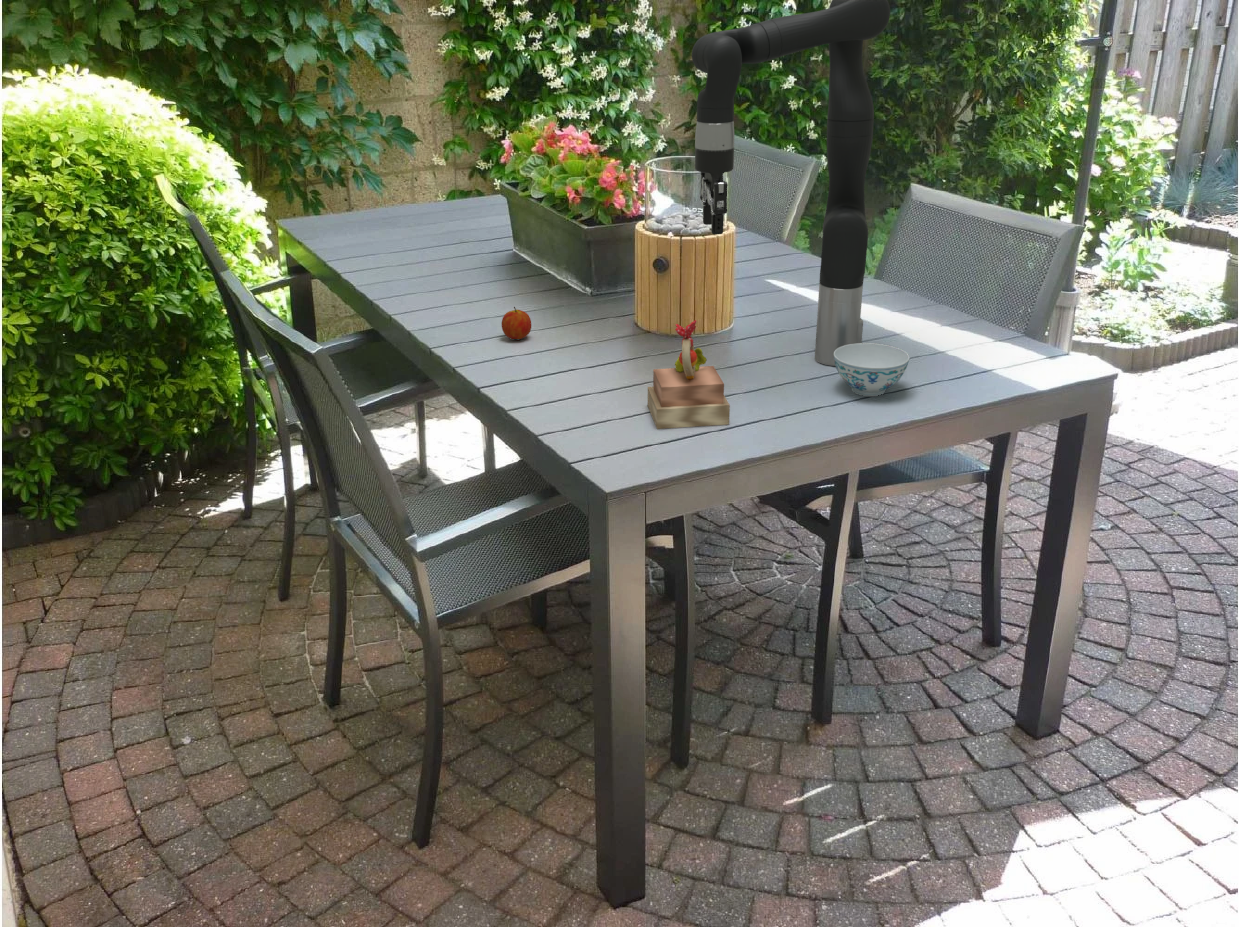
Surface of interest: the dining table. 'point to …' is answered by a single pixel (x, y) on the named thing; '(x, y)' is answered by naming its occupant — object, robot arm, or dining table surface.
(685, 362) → the bird rattle
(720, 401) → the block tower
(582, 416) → the dining table surface
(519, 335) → the fruit
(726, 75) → the robot arm
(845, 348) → the chinaware
